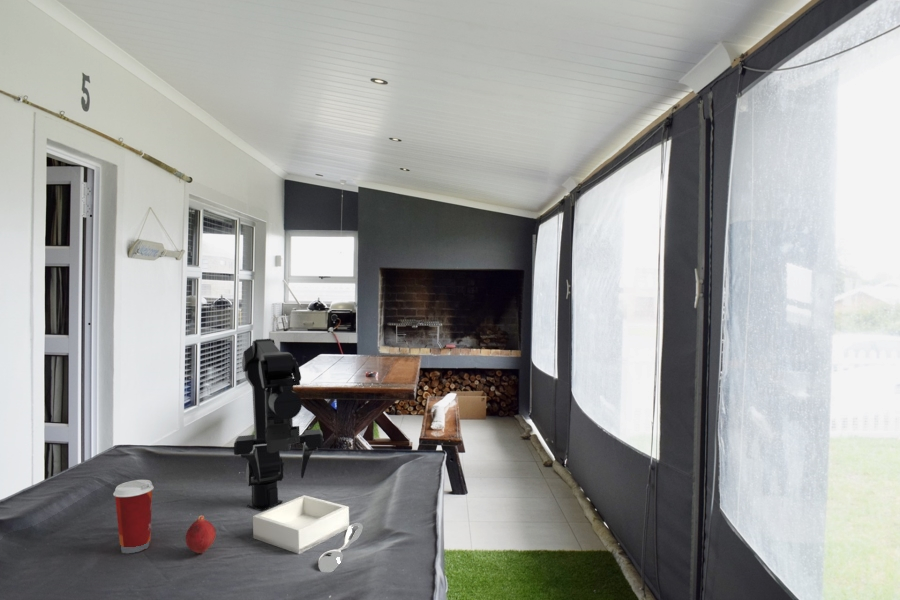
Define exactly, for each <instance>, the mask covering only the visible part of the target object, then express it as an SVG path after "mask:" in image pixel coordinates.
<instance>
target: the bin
mask: <svg viewBox="0 0 900 600" xmlns="http://www.w3.org/2000/svg"><path fill="white" fill-rule="evenodd" d="M349 526H350V507H349V506H346V505H344V504H340V503H336V502H332V501H329V500H325V499H324V500H323V499H320V498H317V497H313V496H309V495H305V494H303V495H302V496H299V497H296V498H294V499H291V500H289V501H287V502H284V503H280V504H278V505H276V506H273V507H271V508H268V509H266V510H263V511H262V512H259V513H256V514H255V515H253V516H252V529H253V533H252V534H253V536H252V537H253V539H255V540H258V541H259V542H263V543H265V544H269V545H271V546H274V547H276V548H280V549H283V550H286V551H289V552H291V553H295V554H297V555H300V554H302V553H305V552H307V551H308V550H310V549H312V548H314V547H315V546H318V545H319V544H322V543H323V542H326V541H328V540H329V539H331V538H333V537H334V536H338V535H339V534H340V533H343V532H345V531H347V530H348V528H349Z"/></svg>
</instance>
